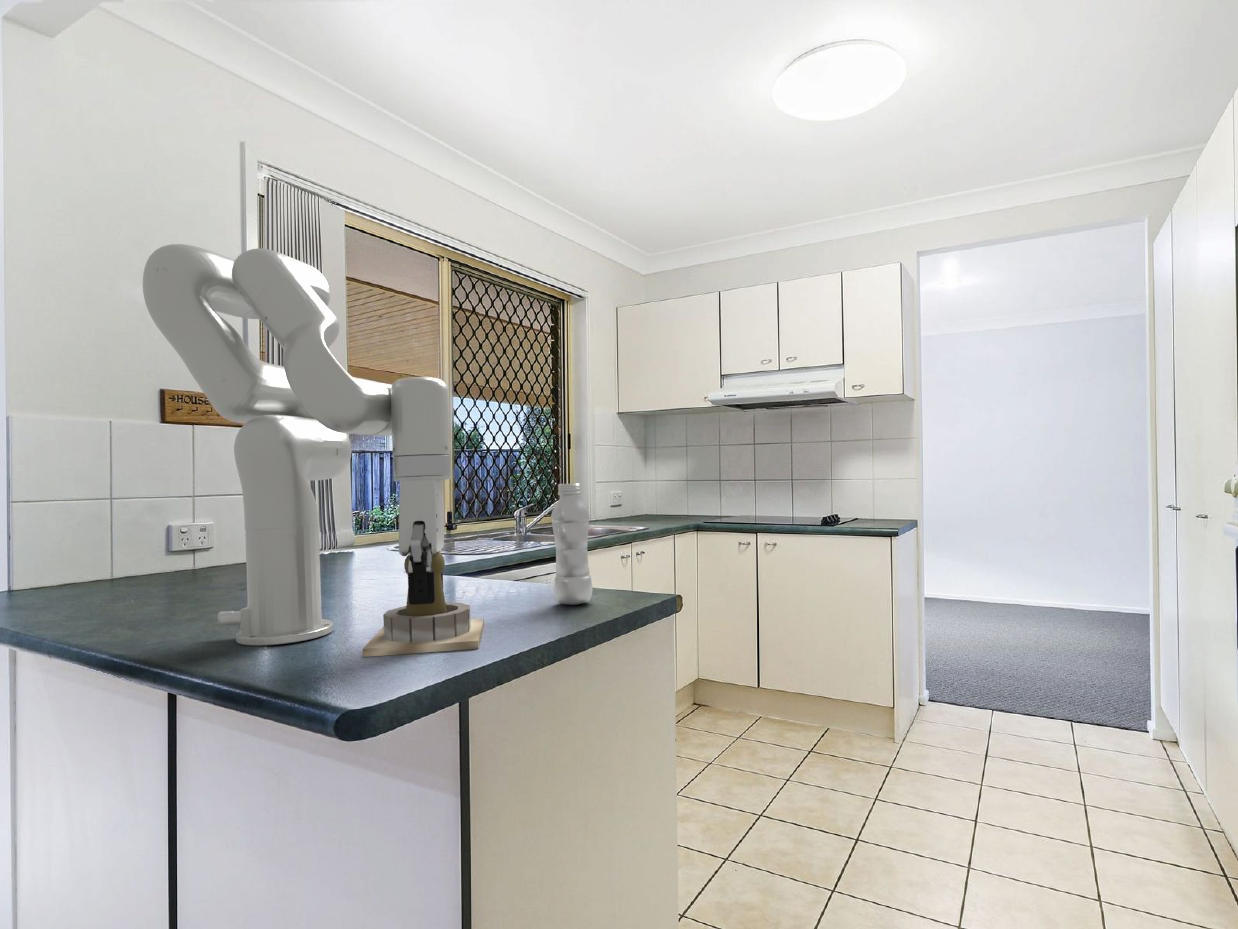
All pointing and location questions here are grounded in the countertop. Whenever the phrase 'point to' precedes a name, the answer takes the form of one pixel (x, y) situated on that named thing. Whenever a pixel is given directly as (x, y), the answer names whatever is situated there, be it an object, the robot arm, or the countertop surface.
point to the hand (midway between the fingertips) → (427, 597)
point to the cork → (439, 602)
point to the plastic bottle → (571, 547)
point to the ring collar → (426, 632)
